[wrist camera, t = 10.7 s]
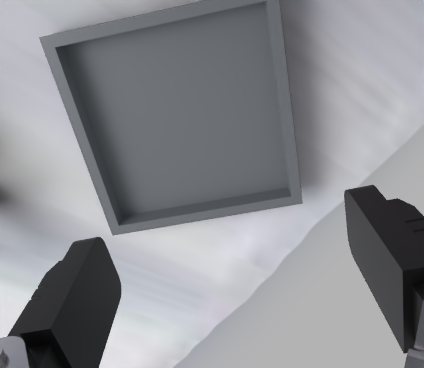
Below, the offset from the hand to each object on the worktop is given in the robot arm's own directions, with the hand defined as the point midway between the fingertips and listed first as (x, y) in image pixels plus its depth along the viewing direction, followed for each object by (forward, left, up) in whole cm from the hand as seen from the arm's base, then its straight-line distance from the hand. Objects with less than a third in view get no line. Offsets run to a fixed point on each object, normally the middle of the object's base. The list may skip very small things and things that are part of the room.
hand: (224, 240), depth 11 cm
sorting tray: (+4, -4, -28) cm, 28 cm away
